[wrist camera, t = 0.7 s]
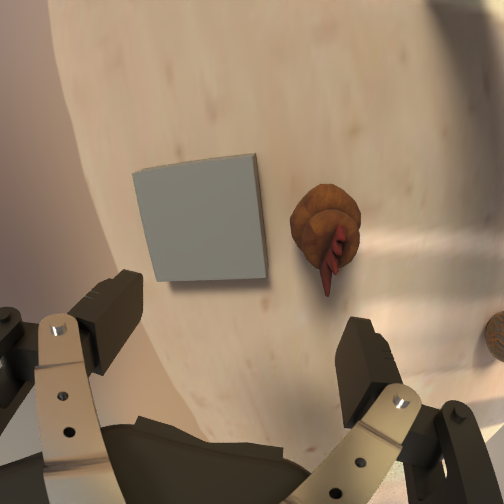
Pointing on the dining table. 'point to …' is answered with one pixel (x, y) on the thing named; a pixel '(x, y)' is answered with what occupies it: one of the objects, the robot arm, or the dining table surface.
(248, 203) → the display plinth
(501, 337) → the vase
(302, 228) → the wooden figurine
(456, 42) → the dining table surface
